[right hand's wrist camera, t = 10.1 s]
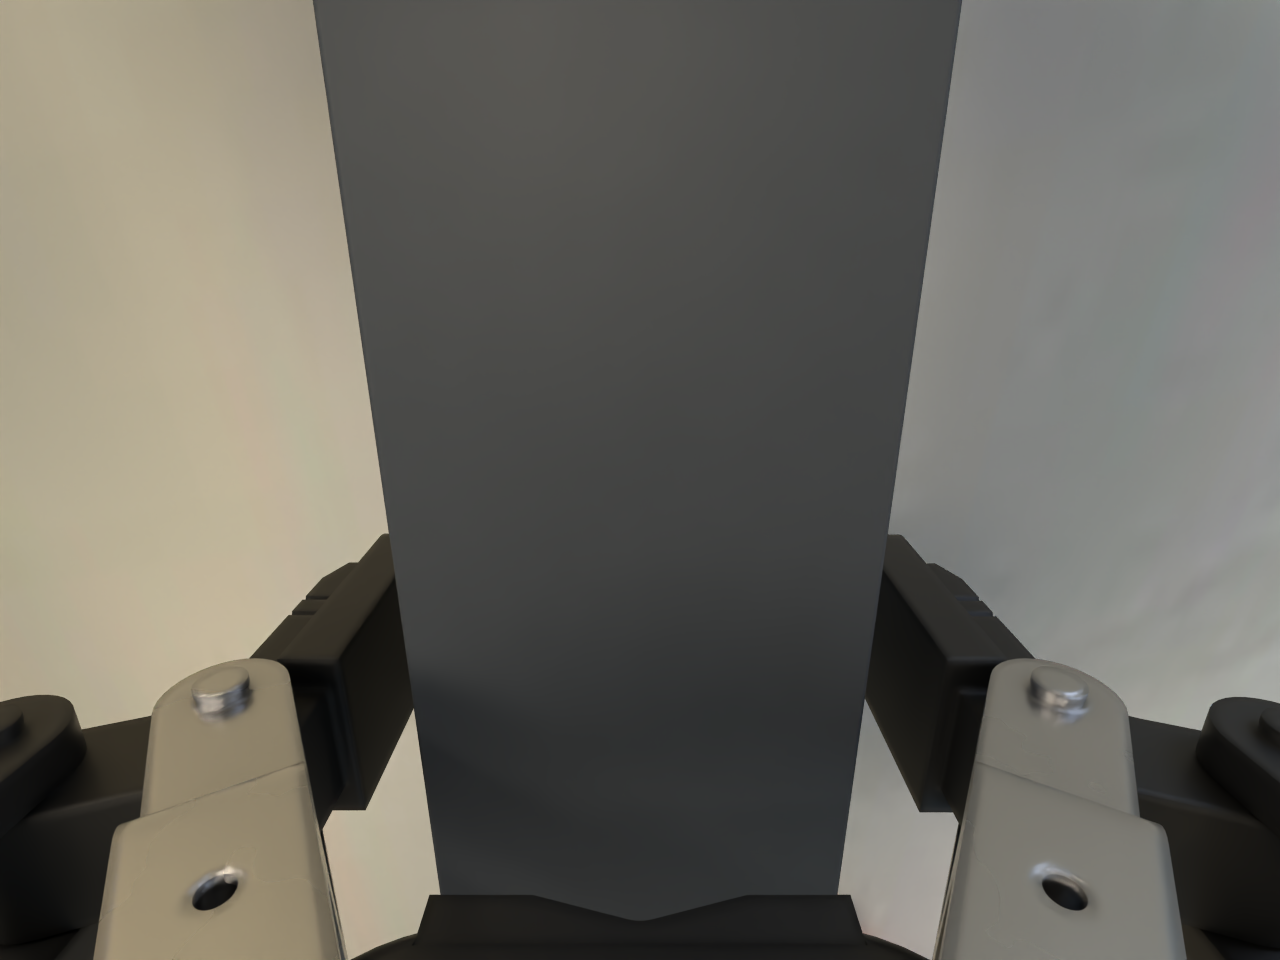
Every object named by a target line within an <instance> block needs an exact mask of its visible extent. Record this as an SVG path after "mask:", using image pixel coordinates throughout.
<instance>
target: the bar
mask: <svg viewBox="0 0 1280 960" xmlns="http://www.w3.org/2000/svg"><path fill="white" fill-rule="evenodd" d="M313 5H314V12H315V19H316V26H317V33H318V40H319V47H320V54H321V61H322V68H323V75H324V82H325V89H326V96H327V103H328V110H329V117H330V124H331V131H332V138H333V145H334V152H335V159H336V166H337V173H338V180H339V187H340V194H341V201H342V208H343V215H344V222H345V229H346V236H347V243H348V250H349V257H350V264H351V271H352V278H353V285H354V292H355V299H356V306H357V313H358V320H359V327H360V334H361V341H362V348H363V355H364V362H365V369H366V376H367V383H368V390H369V397H370V404H371V411H372V418H373V425H374V432H375V439H376V446H377V453H378V460H379V467H380V474H381V481H382V488H383V495H384V502H385V509H386V516H387V523H388V530H389V537H390V544H391V551H392V558H393V565H394V572H395V579H396V586H397V593H398V600H399V607H400V614H401V621H402V628H403V635H404V642H405V649H406V656H407V663H408V670H409V677H410V684H411V691H412V698H413V705H414V712H415V719H416V726H417V733H418V740H419V747H420V754H421V761H422V768H423V775H424V782H425V789H426V796H427V803H428V810H429V817H430V824H431V831H432V838H433V845H434V852H435V859H436V866H437V873H438V880H439V887H440V894H441V895H536V896H539V897H543V898H547V899H551V900H555V901H559V902H563V903H567V904H570V905H574V906H578V907H582V908H586V909H590V910H594V911H598V912H602V913H605V914H609V915H613V916H617V917H621V918H625V919H629V920H635V921H645V920H651V919H655V918H659V917H663V916H667V915H671V914H675V913H678V912H682V911H686V910H690V909H694V908H698V907H702V906H706V905H710V904H713V903H717V902H721V901H725V900H729V899H733V898H737V897H741V896H744V895H837V893H838V886H839V879H840V871H841V864H842V857H843V850H844V843H845V836H846V828H847V821H848V814H849V807H850V800H851V793H852V785H853V778H854V771H855V764H856V757H857V750H858V742H859V735H860V728H861V721H862V714H863V707H864V699H865V692H866V685H867V678H868V671H869V664H870V656H871V649H872V642H873V635H874V628H875V621H876V614H877V606H878V599H879V592H880V585H881V578H882V571H883V563H884V556H885V549H886V542H887V535H888V528H889V520H890V513H891V506H892V499H893V492H894V485H895V477H896V470H897V463H898V456H899V449H900V442H901V434H902V427H903V420H904V413H905V406H906V399H907V391H908V384H909V377H910V370H911V363H912V356H913V348H914V341H915V334H916V327H917V320H918V313H919V305H920V298H921V291H922V284H923V277H924V270H925V262H926V255H927V248H928V241H929V234H930V227H931V220H932V212H933V205H934V198H935V191H936V184H937V177H938V169H939V162H940V155H941V148H942V141H943V134H944V126H945V119H946V112H947V105H948V98H949V91H950V83H951V76H952V69H953V62H954V55H955V48H956V40H957V33H958V26H959V19H960V12H961V5H962V0H313Z"/></svg>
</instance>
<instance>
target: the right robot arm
mask: <svg viewBox="0 0 1280 960" xmlns="http://www.w3.org/2000/svg"><path fill="white" fill-rule="evenodd" d="M865 699H866V701H867V703H868V706H869V708H870V710H871V712H872V714H873V716H874V718H875V720H876V722H877V724H878V726H879V728H880V731H881V733H882V735H883V737H884V739H885V741H886V743H887V745H888V747H889V749H890V751H891V753H892V756H893V758H894V760H895V762H896V764H897V766H898V768H899V770H900V772H901V774H902V776H903V778H904V781H905V783H906V785H907V787H908V789H909V791H910V793H911V795H912V797H913V799H914V801H915V803H916V806H917V808H918V810H919V812H953V813H954V815H955V817H956V819H957V820H958V822H959V824H958V829H957V834H956V838H955V843H954V848H953V853H952V858H951V864H950V869H949V874H948V879H947V884H946V890H945V895H944V900H943V905H942V910H941V916H940V921H939V926H938V931H937V937H936V942H935V947H934V952H933V957H932V960H1280V704H1279V703H1276V702H1272V701H1267V700H1262V699H1256V698H1248V697H1231V698H1224V699H1221V700H1218V701H1216V702H1214V703H1213V704H1212V706H1211V707H1210V709H1209V712H1208V714H1207V717H1206V720H1205V723H1204V726H1203V728H1202V731H1200V730H1195V729H1190V728H1185V727H1179V726H1174V725H1169V724H1164V723H1159V722H1154V721H1149V720H1144V719H1139V718H1135V717H1130V716H1128V712H1127V708H1126V706H1125V705H1124V703H1123V701H1122V700H1121V699H1120V698H1119V697H1118V695H1117V694H1116V693H1115V692H1113V691H1112V690H1111V689H1110V688H1109V687H1107V686H1106V685H1105V684H1103V683H1102V682H1100V681H1099V680H1097V679H1095V678H1093V677H1092V676H1090V675H1088V674H1086V673H1084V672H1081V671H1079V670H1077V669H1074V668H1071V667H1069V666H1066V665H1062V664H1059V663H1055V662H1051V661H1047V660H1040V659H1035V658H1034V657H1033V656H1032V655H1031V654H1030V652H1029V651H1028V650H1027V649H1026V648H1025V647H1024V646H1023V645H1022V644H1021V643H1020V642H1019V641H1018V639H1017V638H1016V637H1015V636H1014V635H1013V634H1012V633H1011V632H1010V631H1009V630H1008V629H1007V627H1006V626H1005V625H1004V624H1003V623H1002V622H1001V621H1000V620H999V619H998V618H997V617H996V616H993V612H992V611H991V610H990V609H989V608H988V607H987V606H986V605H985V604H984V602H983V601H979V597H978V596H977V595H976V594H975V593H974V592H973V591H972V589H971V588H970V587H969V586H968V585H967V584H966V583H965V582H964V581H963V580H962V579H961V578H959V577H958V576H956V575H954V574H952V573H951V572H949V571H947V570H945V569H944V568H942V567H940V566H938V565H937V564H926V563H925V562H924V560H923V559H922V558H921V557H920V556H919V554H918V553H917V552H916V551H915V550H914V549H913V547H912V546H911V545H910V544H909V543H908V542H907V540H906V539H905V538H904V537H903V536H902V535H887V542H886V549H885V556H884V563H883V571H882V578H881V585H880V592H879V599H878V606H877V614H876V621H875V628H874V635H873V642H872V649H871V656H870V664H869V671H868V678H867V685H866V692H865ZM413 709H414V705H413V698H412V691H411V684H410V677H409V670H408V663H407V656H406V649H405V642H404V635H403V628H402V621H401V614H400V607H399V600H398V593H397V586H396V579H395V572H394V565H393V558H392V551H391V544H390V537H389V534H383V535H381V536H380V537H379V539H378V540H377V541H376V542H375V543H374V544H373V546H372V547H371V548H370V549H369V550H368V552H367V553H366V554H365V555H364V556H363V557H362V559H361V560H360V561H359V562H358V563H348V564H346V565H344V566H342V567H341V568H339V569H337V570H336V571H334V572H332V573H330V574H329V575H327V576H325V577H323V578H322V579H321V580H320V581H319V582H318V583H317V585H316V586H315V587H314V588H313V589H312V590H311V591H310V592H309V593H308V594H307V596H306V600H302V601H301V602H300V603H299V604H298V605H297V607H296V608H295V609H294V610H293V611H292V615H288V616H287V618H286V619H285V620H284V621H283V622H282V623H281V624H280V625H279V626H278V627H277V629H276V630H275V631H274V632H273V633H272V634H271V635H270V636H269V637H268V638H267V640H266V641H265V642H264V643H263V644H262V645H261V646H260V647H259V648H258V649H257V650H256V652H255V653H254V654H253V655H252V656H251V657H250V658H249V659H240V660H233V661H229V662H225V663H221V664H218V665H214V666H211V667H209V668H206V669H203V670H201V671H199V672H196V673H194V674H192V675H190V676H188V677H187V678H185V679H183V680H181V681H180V682H178V683H177V684H175V685H174V686H173V687H171V688H170V689H169V690H168V691H167V692H165V693H164V694H163V695H162V697H161V698H160V699H159V700H158V701H157V703H156V705H155V706H154V708H153V712H152V716H148V717H143V718H138V719H133V720H128V721H123V722H118V723H113V724H108V725H103V726H97V727H92V728H87V729H82V730H81V727H80V724H79V721H78V718H77V715H76V713H75V710H74V707H73V705H72V703H71V702H70V701H69V700H67V699H65V698H63V697H59V696H54V695H34V696H26V697H20V698H15V699H11V700H7V701H3V702H0V960H348V957H347V952H346V947H345V942H344V937H343V931H342V926H341V921H340V916H339V910H338V905H337V900H336V895H335V890H334V884H333V879H332V874H331V869H330V864H329V858H328V853H327V848H326V843H325V838H324V834H323V827H324V825H325V823H326V822H327V820H328V818H329V816H330V814H331V812H332V810H366V808H367V806H368V804H369V802H370V800H371V797H372V795H373V793H374V791H375V789H376V787H377V785H378V783H379V781H380V778H381V776H382V774H383V772H384V770H385V768H386V766H387V764H388V761H389V759H390V757H391V755H392V753H393V751H394V749H395V747H396V745H397V742H398V740H399V738H400V736H401V734H402V732H403V730H404V728H405V725H406V723H407V721H408V719H409V717H410V715H411V713H412V711H413ZM351 960H929V959H927V958H925V957H923V956H921V955H918V954H916V953H914V952H912V951H910V950H908V949H906V948H904V947H902V946H899V945H896V944H894V943H891V942H888V941H886V940H883V939H880V938H877V937H874V936H870V935H867V934H863V933H862V930H861V927H860V924H859V921H858V918H857V914H856V911H855V908H854V905H853V902H852V899H851V895H744V896H741V897H737V898H733V899H729V900H725V901H721V902H717V903H713V904H710V905H706V906H702V907H698V908H694V909H690V910H686V911H682V912H678V913H675V914H671V915H667V916H663V917H659V918H655V919H651V920H645V921H635V920H629V919H625V918H621V917H617V916H613V915H609V914H605V913H602V912H598V911H594V910H590V909H586V908H582V907H578V906H574V905H570V904H567V903H563V902H559V901H555V900H551V899H547V898H543V897H539V896H536V895H429V899H428V902H427V905H426V908H425V911H424V914H423V918H422V921H421V924H420V927H419V930H418V933H417V934H413V935H410V936H406V937H403V938H400V939H397V940H394V941H392V942H389V943H386V944H384V945H381V946H378V947H376V948H374V949H372V950H370V951H368V952H366V953H364V954H362V955H359V956H357V957H355V958H353V959H351Z"/></svg>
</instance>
